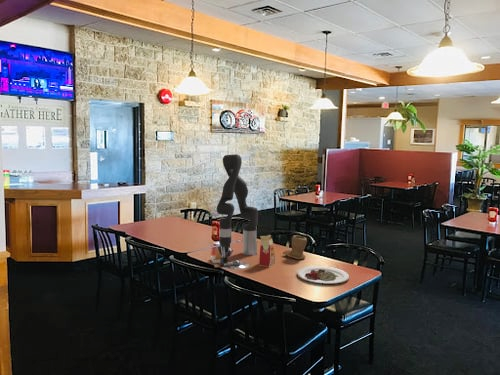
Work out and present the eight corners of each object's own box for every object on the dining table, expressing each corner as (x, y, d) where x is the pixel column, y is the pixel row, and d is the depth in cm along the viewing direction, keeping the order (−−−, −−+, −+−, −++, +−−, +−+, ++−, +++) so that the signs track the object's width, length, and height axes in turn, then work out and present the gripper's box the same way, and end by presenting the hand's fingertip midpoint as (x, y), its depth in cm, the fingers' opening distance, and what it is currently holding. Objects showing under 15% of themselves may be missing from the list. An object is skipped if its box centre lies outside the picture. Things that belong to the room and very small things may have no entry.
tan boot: (309, 258, 276) (310, 236, 274) (297, 261, 269) (297, 239, 267) (294, 253, 288) (295, 232, 286) (281, 255, 281) (282, 234, 279)
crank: (239, 263, 260) (239, 255, 259) (240, 266, 256) (240, 257, 255) (219, 265, 257) (219, 256, 256) (221, 267, 252) (221, 258, 252)
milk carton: (275, 264, 263) (276, 233, 260) (270, 268, 254) (270, 236, 252) (262, 262, 267) (263, 232, 264) (256, 266, 258) (257, 235, 256)
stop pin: (221, 259, 269) (221, 247, 268) (222, 261, 265) (222, 249, 264) (215, 259, 268) (215, 248, 267) (216, 261, 264) (216, 249, 263)
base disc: (245, 261, 267) (245, 259, 267) (252, 269, 252) (252, 266, 252) (212, 263, 261) (212, 261, 261) (217, 271, 246) (217, 269, 246)
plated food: (358, 277, 240) (359, 272, 240) (329, 290, 220) (329, 284, 219) (317, 265, 262) (317, 260, 261) (286, 276, 241) (286, 270, 240)
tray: (224, 258, 272) (224, 255, 272) (227, 263, 263) (227, 259, 263) (210, 259, 270) (210, 256, 269) (213, 264, 261) (213, 260, 260)
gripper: (236, 236, 247) (236, 264, 249) (223, 232, 257) (223, 259, 259) (226, 238, 242) (226, 266, 244) (214, 234, 252) (213, 261, 254)
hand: (225, 262), depth 252 cm, fingers closed
